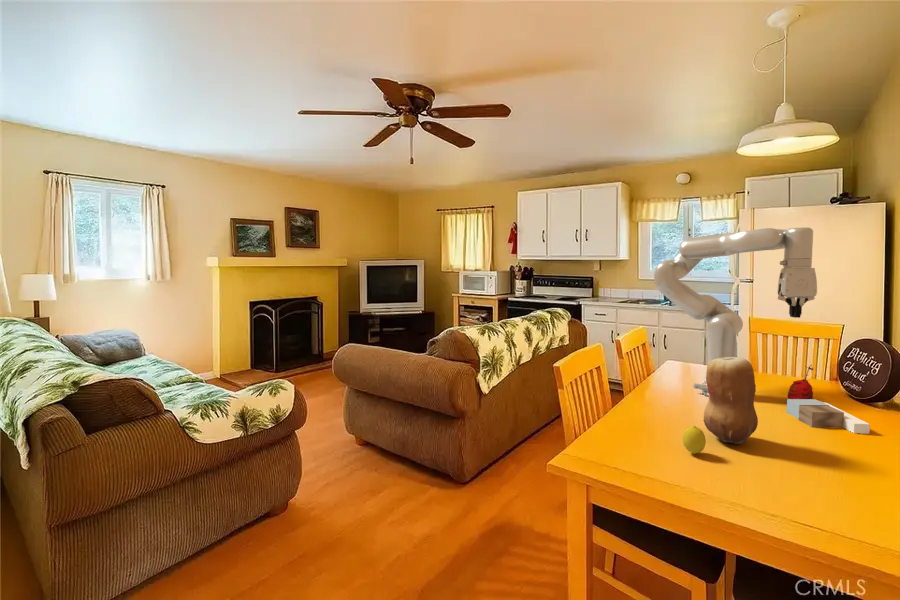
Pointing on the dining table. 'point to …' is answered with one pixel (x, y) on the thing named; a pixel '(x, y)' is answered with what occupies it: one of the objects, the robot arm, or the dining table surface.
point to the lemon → (694, 439)
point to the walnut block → (821, 416)
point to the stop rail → (854, 423)
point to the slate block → (795, 403)
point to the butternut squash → (730, 399)
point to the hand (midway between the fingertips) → (795, 317)
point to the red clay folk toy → (801, 389)
